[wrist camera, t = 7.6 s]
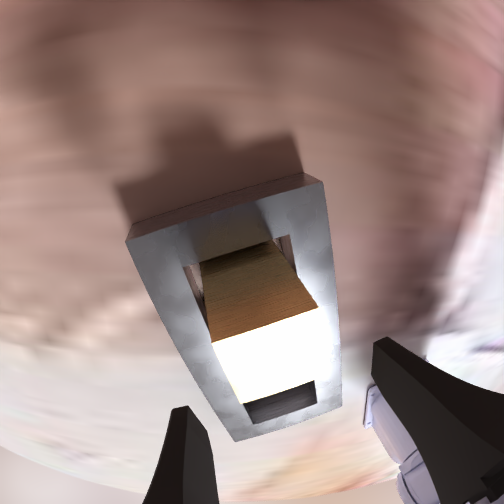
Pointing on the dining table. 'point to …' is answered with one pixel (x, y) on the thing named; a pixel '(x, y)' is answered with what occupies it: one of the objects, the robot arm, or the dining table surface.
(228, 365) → the wooden peg
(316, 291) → the steel frame
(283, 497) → the dining table surface
